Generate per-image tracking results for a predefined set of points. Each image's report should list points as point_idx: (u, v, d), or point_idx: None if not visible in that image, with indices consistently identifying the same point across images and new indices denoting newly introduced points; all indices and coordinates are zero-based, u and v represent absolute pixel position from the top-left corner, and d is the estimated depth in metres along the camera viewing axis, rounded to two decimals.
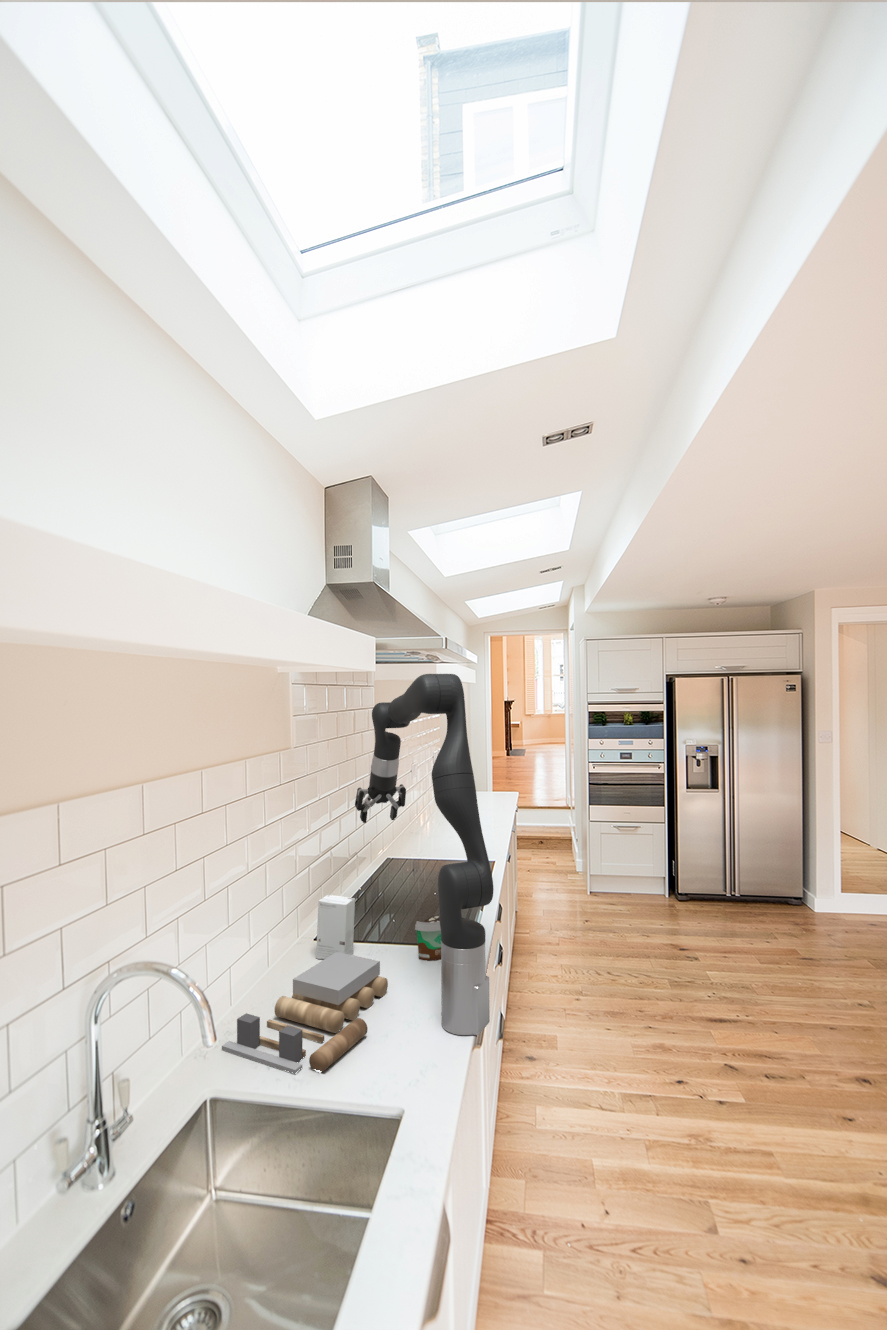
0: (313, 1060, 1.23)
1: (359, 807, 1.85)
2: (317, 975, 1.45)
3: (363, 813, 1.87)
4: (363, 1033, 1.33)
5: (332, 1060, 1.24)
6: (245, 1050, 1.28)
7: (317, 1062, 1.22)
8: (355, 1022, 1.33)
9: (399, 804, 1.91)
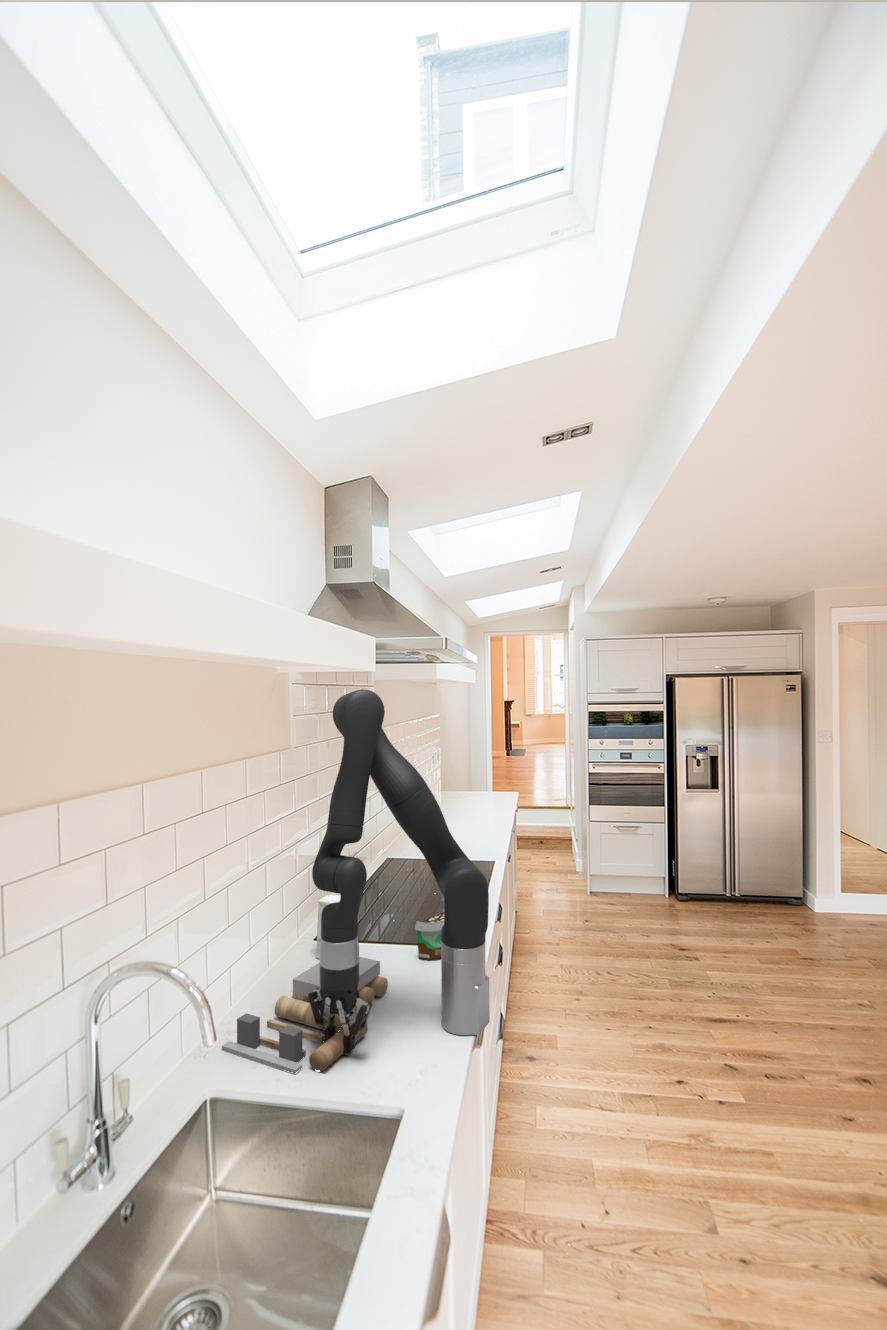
0: (313, 1059, 1.23)
1: None
2: (317, 975, 1.45)
3: None
4: (363, 1032, 1.33)
5: (332, 1059, 1.24)
6: (245, 1050, 1.28)
7: (317, 1061, 1.22)
8: None
9: None
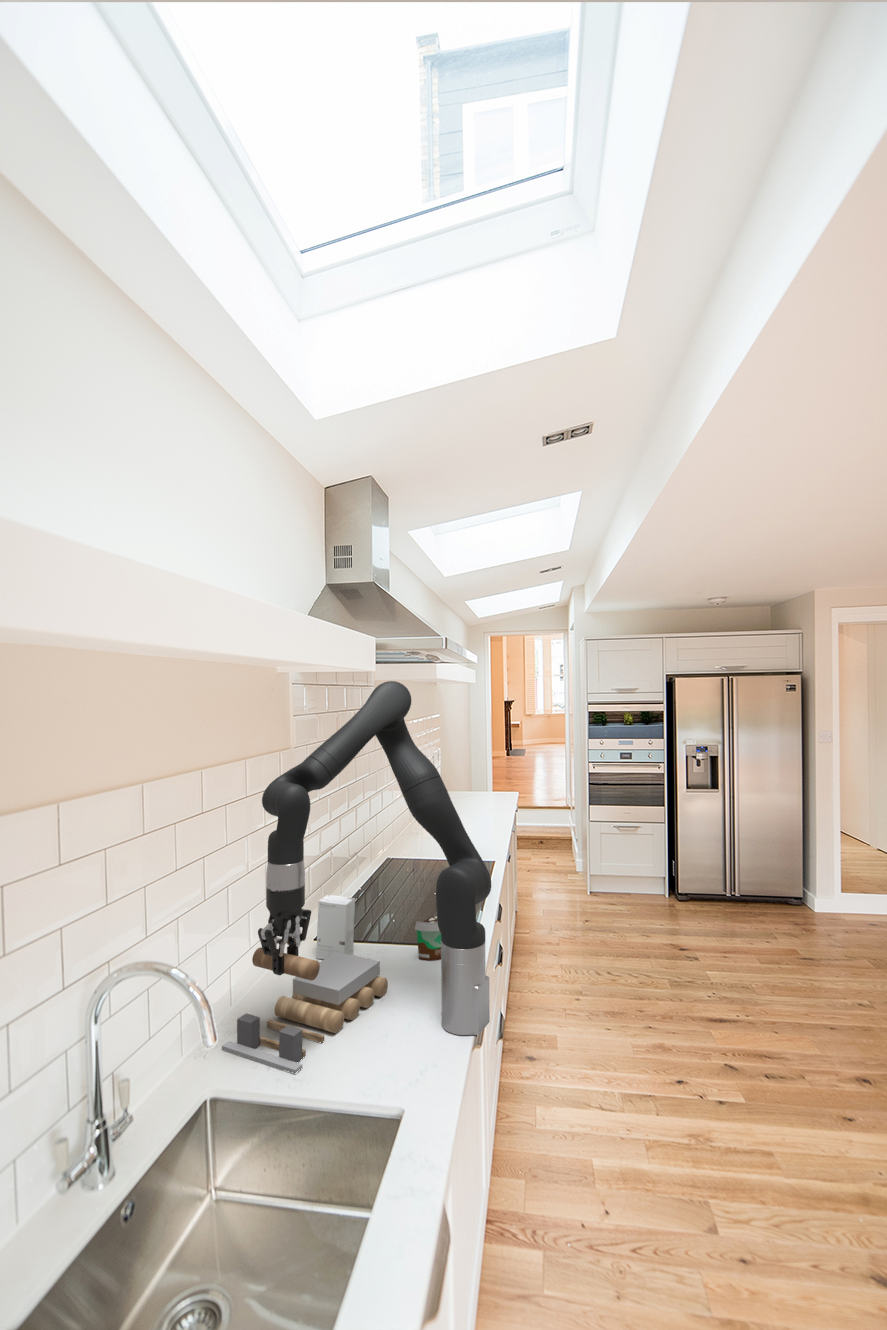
0: (310, 971, 1.29)
1: None
2: (317, 975, 1.45)
3: None
4: None
5: None
6: (245, 1050, 1.28)
7: (314, 969, 1.30)
8: None
9: None
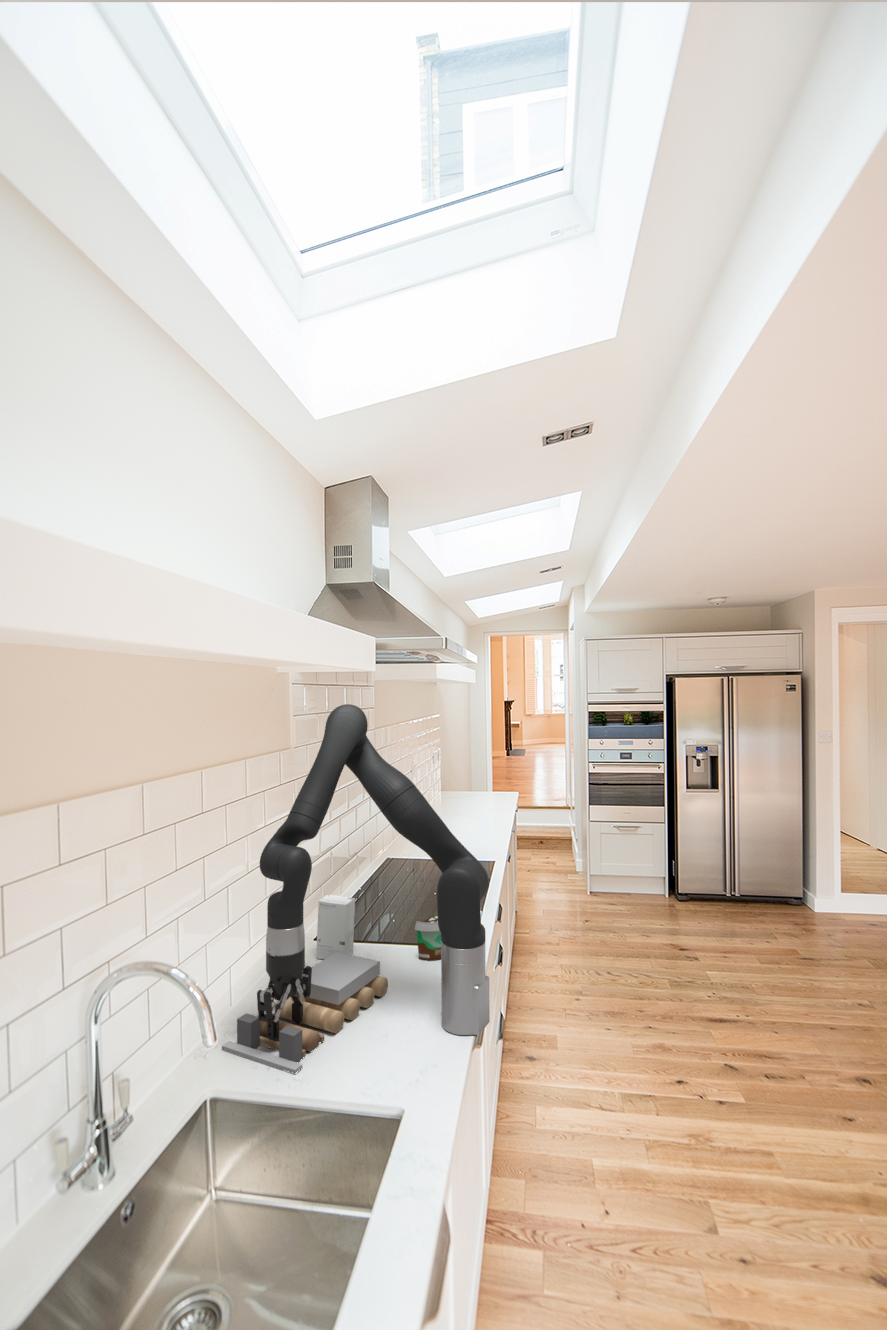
0: (311, 1043, 1.29)
1: None
2: (317, 975, 1.45)
3: None
4: None
5: None
6: (245, 1050, 1.28)
7: (314, 1040, 1.30)
8: None
9: None
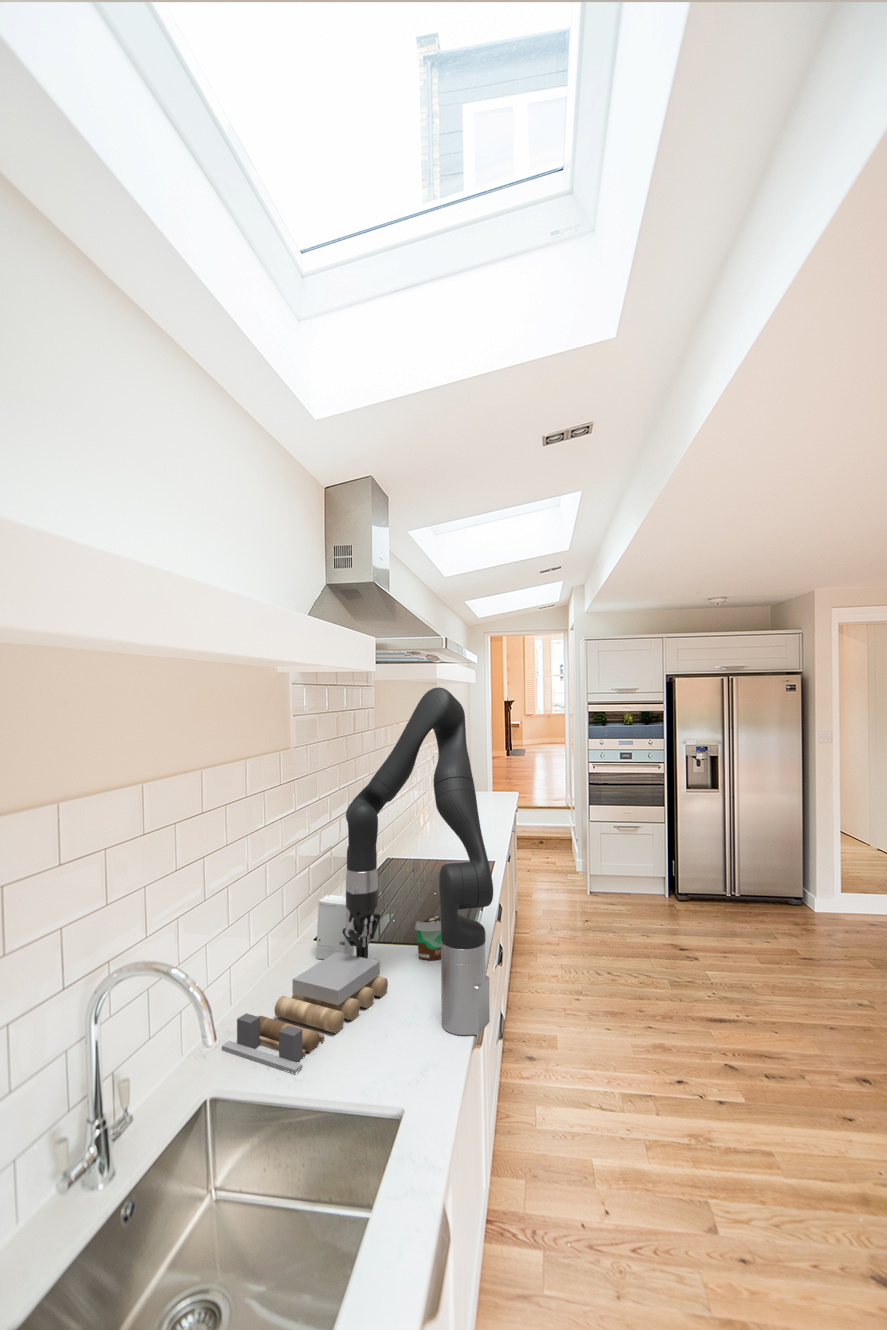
0: (310, 1043, 1.28)
1: None
2: (317, 976, 1.45)
3: None
4: None
5: None
6: (245, 1050, 1.28)
7: (313, 1041, 1.29)
8: (265, 1018, 1.35)
9: None
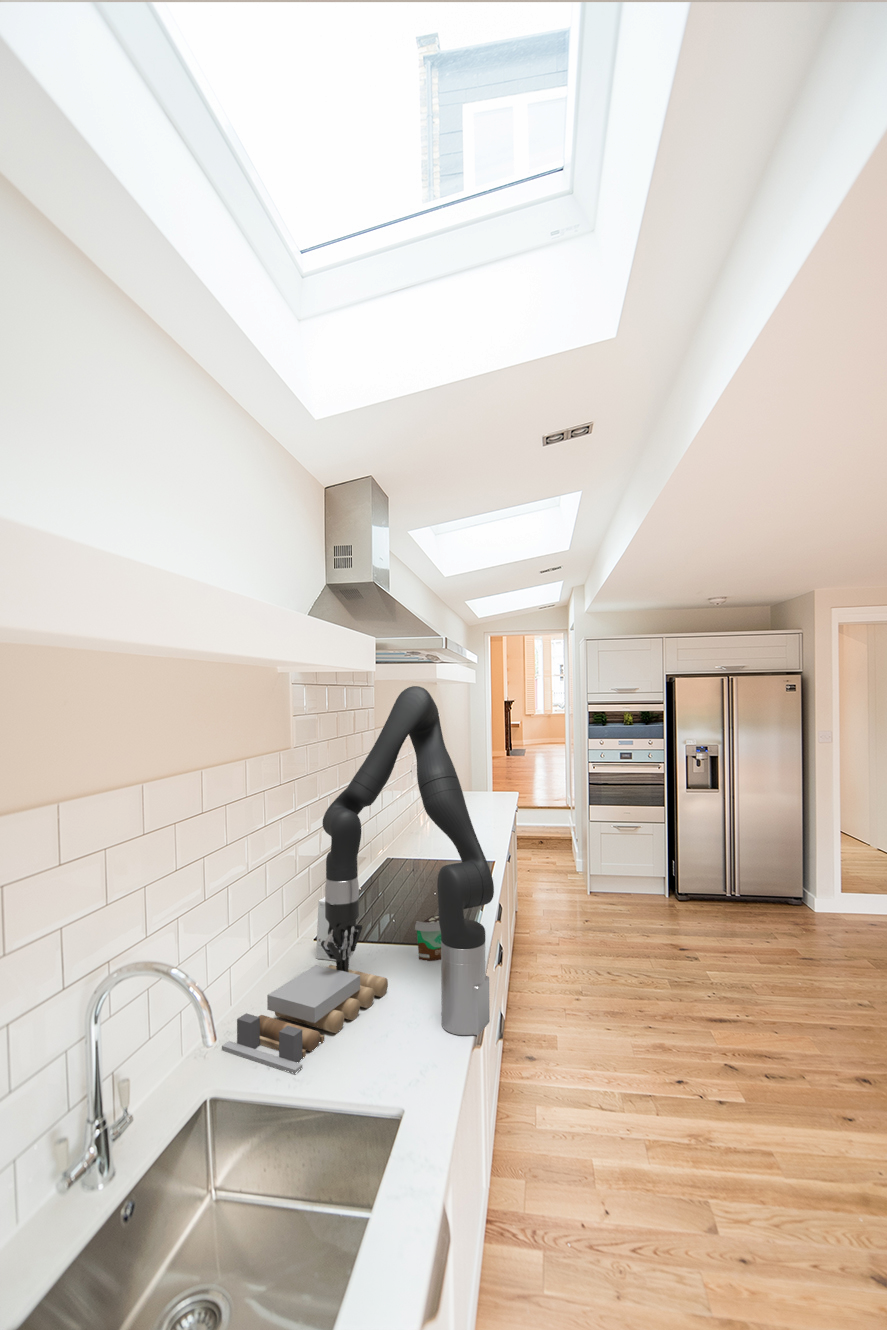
0: (311, 1042, 1.29)
1: None
2: (294, 991, 1.38)
3: None
4: None
5: None
6: (245, 1050, 1.28)
7: (314, 1040, 1.30)
8: (267, 1017, 1.35)
9: None
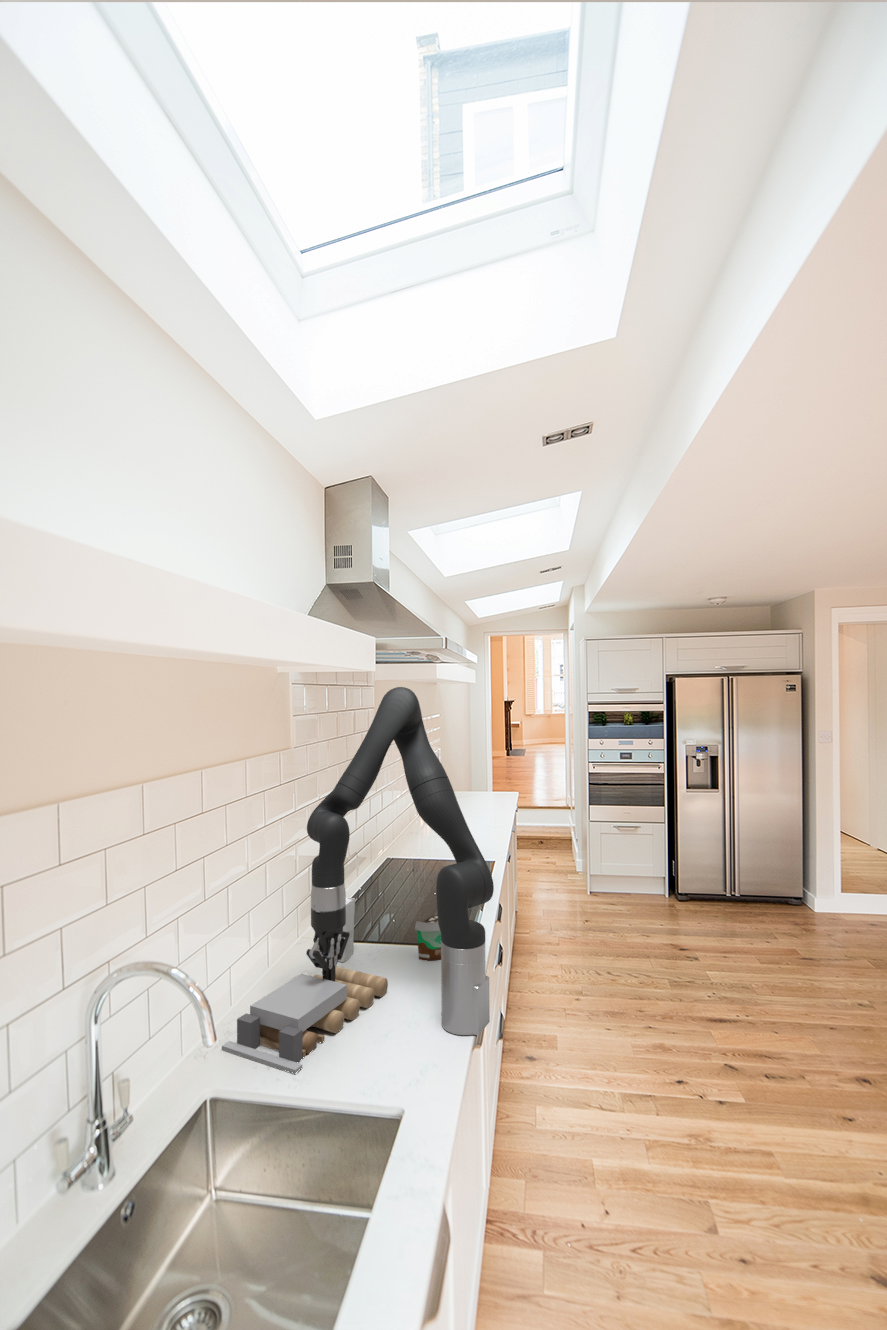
0: (308, 1046, 1.28)
1: None
2: (277, 1002, 1.34)
3: None
4: None
5: None
6: (245, 1050, 1.28)
7: (311, 1042, 1.29)
8: None
9: None
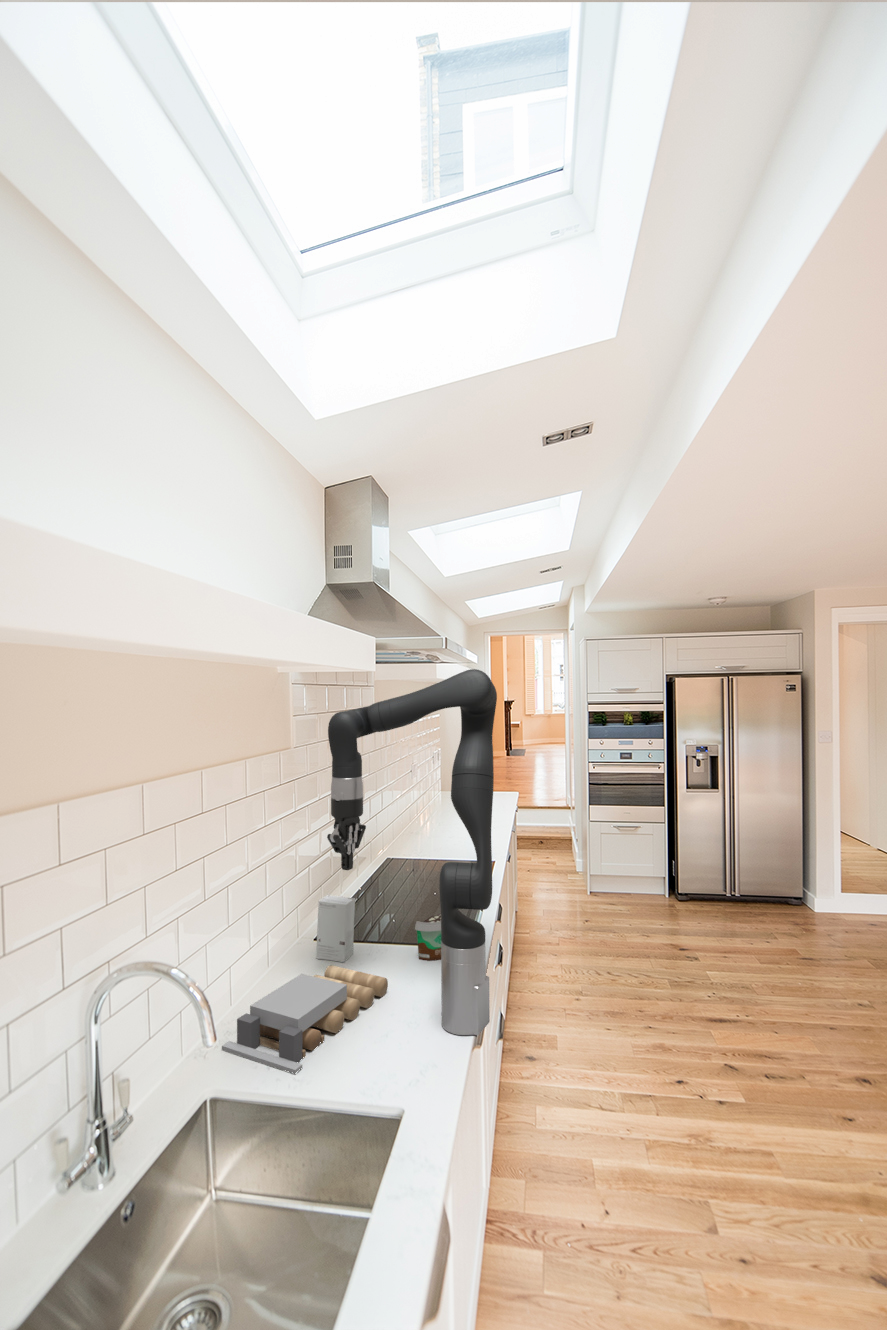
0: (312, 1040, 1.29)
1: None
2: (277, 1002, 1.34)
3: None
4: None
5: None
6: (245, 1050, 1.28)
7: (316, 1039, 1.30)
8: None
9: None
